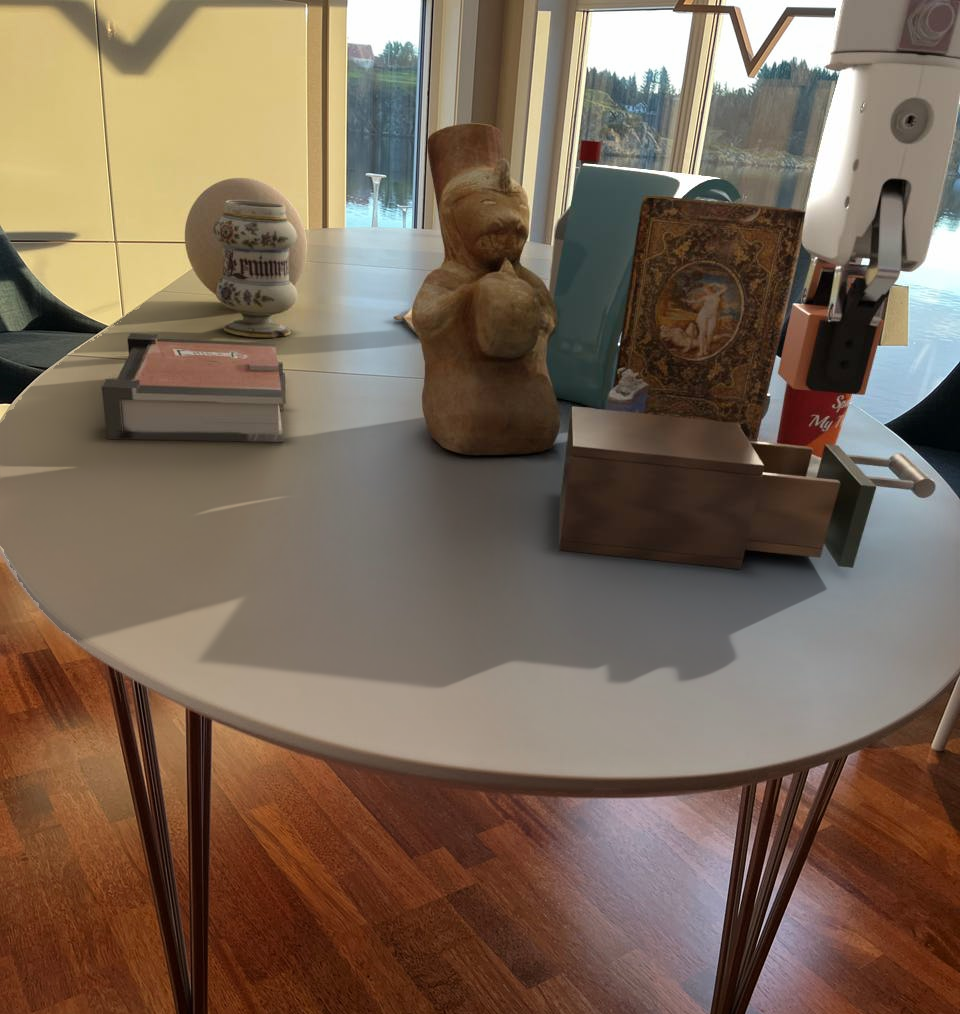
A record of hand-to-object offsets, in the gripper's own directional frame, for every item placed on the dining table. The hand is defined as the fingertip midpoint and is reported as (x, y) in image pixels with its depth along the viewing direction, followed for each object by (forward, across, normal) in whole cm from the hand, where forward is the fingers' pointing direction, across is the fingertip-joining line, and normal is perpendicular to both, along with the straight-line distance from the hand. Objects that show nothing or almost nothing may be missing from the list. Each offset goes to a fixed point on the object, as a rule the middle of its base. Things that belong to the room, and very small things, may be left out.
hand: (821, 378), depth 59 cm
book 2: (+17, +43, +1) cm, 47 cm away
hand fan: (+17, +107, +35) cm, 114 cm away
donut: (+17, +31, -8) cm, 36 cm away
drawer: (+16, +15, -5) cm, 23 cm away
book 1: (+17, +41, +54) cm, 70 cm away
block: (0, 0, 0) cm, 0 cm away
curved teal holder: (+17, +62, +1) cm, 65 cm away
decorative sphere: (+17, +107, +68) cm, 128 cm away
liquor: (+17, +122, +12) cm, 123 cm away
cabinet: (+17, +15, +7) cm, 24 cm away
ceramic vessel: (+17, +42, +24) cm, 51 cm away
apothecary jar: (+17, +85, +60) cm, 106 cm away
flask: (+17, +29, +9) cm, 35 cm away
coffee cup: (+17, +44, -13) cm, 49 cm away
